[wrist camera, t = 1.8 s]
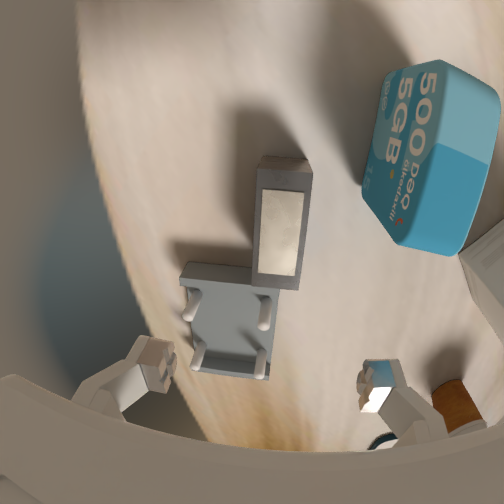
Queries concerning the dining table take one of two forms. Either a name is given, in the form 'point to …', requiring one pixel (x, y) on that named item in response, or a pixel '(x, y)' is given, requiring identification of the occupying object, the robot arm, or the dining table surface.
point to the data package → (431, 155)
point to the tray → (229, 320)
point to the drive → (280, 221)
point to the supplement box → (487, 276)
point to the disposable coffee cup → (457, 409)
